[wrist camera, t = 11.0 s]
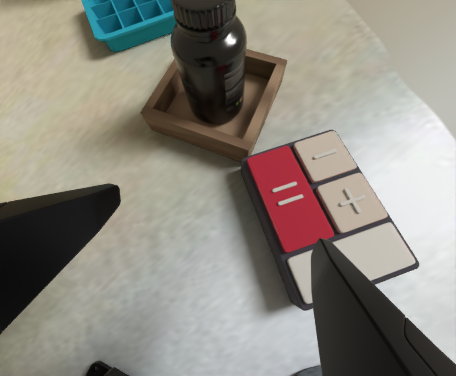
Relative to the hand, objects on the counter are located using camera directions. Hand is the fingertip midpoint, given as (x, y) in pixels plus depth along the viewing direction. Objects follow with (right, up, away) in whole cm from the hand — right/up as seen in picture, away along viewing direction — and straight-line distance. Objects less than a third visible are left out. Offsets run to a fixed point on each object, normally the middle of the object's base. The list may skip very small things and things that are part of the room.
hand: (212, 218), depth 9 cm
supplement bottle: (-1, +12, +18) cm, 21 cm away
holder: (-1, +12, +18) cm, 22 cm away
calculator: (+10, -2, +14) cm, 17 cm away
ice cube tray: (-10, +29, +25) cm, 40 cm away
